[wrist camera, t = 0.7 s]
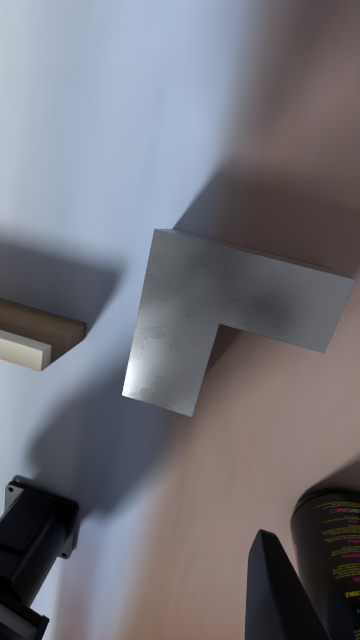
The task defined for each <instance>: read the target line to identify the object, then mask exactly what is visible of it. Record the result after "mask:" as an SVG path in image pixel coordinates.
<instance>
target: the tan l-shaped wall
mask: <svg viewBox="0 0 360 640" xmlns="http://www.w3.org/2000/svg"><path fill="white" fill-rule="evenodd" d="M85 328H86V323H82V322H79V321H75V320H72V319H68V318H65V317H62V316H58V315H55V314H51V313H48V312H44V311H41V310H38V309H34V308H31V307H27V306H24V305H21V304H17V303H14V302H10V301H7V300H3V299H0V359H2V360H5V361H8V362H12V363H15V364H18V365H21V366H24V367H27V368H31V369H34V370H37V371H40V372H41V371H42V370H44V369H45V368H46V367H48V366H49V365H50V364H51V363H53V362H54V361H56V360H57V359H58V358H60V357H61V356H62V355H64V354H65V353H66V352H68V351H69V350H71V349H72V348H73V347H75V346H76V345H77V344H79V343H80V342H81V341H83V340H84V335H85Z"/></svg>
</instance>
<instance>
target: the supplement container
mask: <svg viewBox="0 0 360 640" xmlns="http://www.w3.org/2000/svg"><path fill="white" fill-rule="evenodd" d="M290 529H291V535H292V541H293V546H294V552H295V557H296V563H297V568H298V574H299V579H300V581H301V583H302V585H303V587H304V589H305V590H306V592H307V594H308V596H309V598H310V600H311V602H312V604H313V606H314V608H315V610H316V612H317V613H318V615H319V617H320V619H321V621H322V623H323V625H324V627H325V629H326V631H327V633H328V634H329V636H330V638H331V640H360V492H358V491H355V490H351V489H346V488H327V489H322V490H318V491H316V492H313V493H311V494H309V495H308V496H306V497H305V498H304V499H302V500H301V501H300V502H299V503H298V505H297V506H296V508H295V509H294V511H293V514H292V517H291V522H290Z"/></svg>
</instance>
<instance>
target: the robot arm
mask: <svg viewBox="0 0 360 640" xmlns="http://www.w3.org/2000/svg"><path fill="white" fill-rule="evenodd" d="M78 511H79V507H78V505H77V504H76V503H74V502H71V501H68V500H65V499H63V498H60V497H57V496H54V495H51V494H48V493H46V492H43V491H40V490H37V489H34V488H32V487H29V486H26V485H23V484H20V483H18V482H15V481H10V482H9V483H8V485H7V486H6V489H5V510H4V514H3V515H2V516H1V518H0V640H42V638H43V635H44V633H45V630H46V628H47V625H48V623H49V620H50V619H49V618H47V617H46V616H44V615H43V616H41V615H39V614H38V613H36V612H35V611H33V610H32V609H30V606H31V604H32V603H33V601H34V599H35V597H36V595H37V593H38V591H39V590H40V588H41V586H42V584H43V582H44V580H45V579H46V577H47V575H48V573H49V571H50V569H51V568H52V566H53V564H54V562H55V560H56V558H57V556H58V557H60V558H63V559H68V558H69V557H70V555H71V553H72V548H73V542H74V536H75V530H76V524H77V517H78ZM245 640H331V638H330V636H329V634H328V633H327V631H326V629H325V627H324V625H323V623H322V621H321V619H320V617H319V615H318V613H317V612H316V610H315V608H314V606H313V604H312V602H311V600H310V598H309V596H308V594H307V592H306V590H305V589H304V587H303V585H302V583H301V581H300V579H299V577H298V575H297V573H296V571H295V569H294V568H293V566H292V564H291V562H290V560H289V558H288V556H287V554H286V552H285V550H284V548H283V546H282V545H281V543H280V541H279V539H278V537H277V536H276V535H275V534H274V533H272V532H269V531H266V530H263V529H260V530H259V531H258V532H257V535H256V537H255V539H254V542H253V544H252V546H251V549H250V552H249V557H248V573H247V595H246V617H245Z"/></svg>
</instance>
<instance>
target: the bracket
mask: <svg viewBox="0 0 360 640" xmlns="http://www.w3.org/2000/svg"><path fill="white" fill-rule="evenodd" d="M355 282H356V280H355V279H352V278H350V277H348V276H345V275H343V274H341V273H339V272H336V271H334V270H332V269H329V268H326V267H322V266H318V265H314V264H310V263H306V262H302V261H298V260H294V259H290V258H286V257H282V256H278V255H274V254H270V253H266V252H262V251H258V250H254V249H250V248H247V247H243V246H239V245H235V244H231V243H227V242H223V241H219V240H215V239H211V238H207V237H203V236H199V235H195V234H191V233H187V232H183V231H179V230H175V229H154V234H153V239H152V244H151V249H150V255H149V260H148V265H147V270H146V275H145V280H144V285H143V291H142V296H141V301H140V306H139V311H138V316H137V321H136V326H135V332H134V337H133V342H132V347H131V352H130V357H129V362H128V367H127V373H126V378H125V383H124V388H123V393H122V395H124V396H127V397H130V398H133V399H136V400H139V401H143V402H146V403H149V404H152V405H155V406H158V407H162V408H165V409H168V410H171V411H174V412H177V413H181V414H184V415H187V416H190V417H192V415H193V411H194V408H195V405H196V401H197V398H198V394H199V391H200V388H201V384H202V381H203V377H204V374H205V371H206V367H207V364H208V360H209V357H210V354H211V350H212V347H213V343H214V340H215V337H216V333H217V330H218V327H219V324H222V325H226V326H230V327H233V328H237V329H240V330H244V331H247V332H251V333H254V334H258V335H262V336H265V337H269V338H272V339H276V340H279V341H283V342H286V343H290V344H294V345H297V346H301V347H304V348H308V349H311V350H315V351H319V352H322V353H325V351H326V349H327V346H328V344H329V342H330V339H331V337H332V335H333V333H334V330H335V328H336V326H337V323H338V321H339V319H340V316H341V314H342V312H343V310H344V307H345V305H346V303H347V300H348V298H349V296H350V293H351V291H352V289H353V287H354V284H355Z"/></svg>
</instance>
